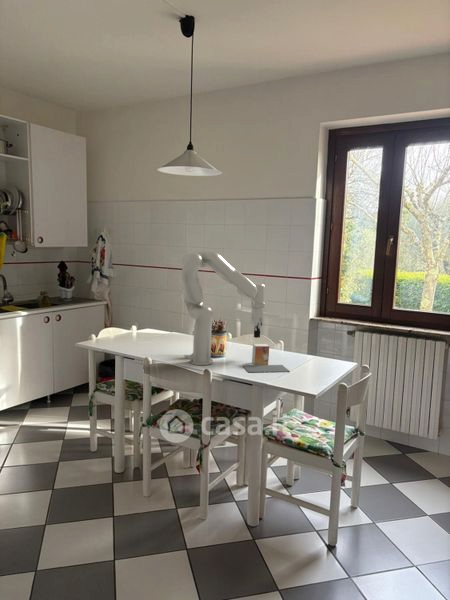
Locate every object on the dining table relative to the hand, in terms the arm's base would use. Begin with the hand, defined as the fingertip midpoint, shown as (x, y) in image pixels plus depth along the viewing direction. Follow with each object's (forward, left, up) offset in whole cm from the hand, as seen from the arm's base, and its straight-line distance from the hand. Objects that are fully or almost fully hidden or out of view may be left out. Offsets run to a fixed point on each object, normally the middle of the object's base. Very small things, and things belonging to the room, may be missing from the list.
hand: (256, 337), depth 255 cm
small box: (-1, -11, -13) cm, 17 cm away
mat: (-1, -22, -13) cm, 25 cm away
